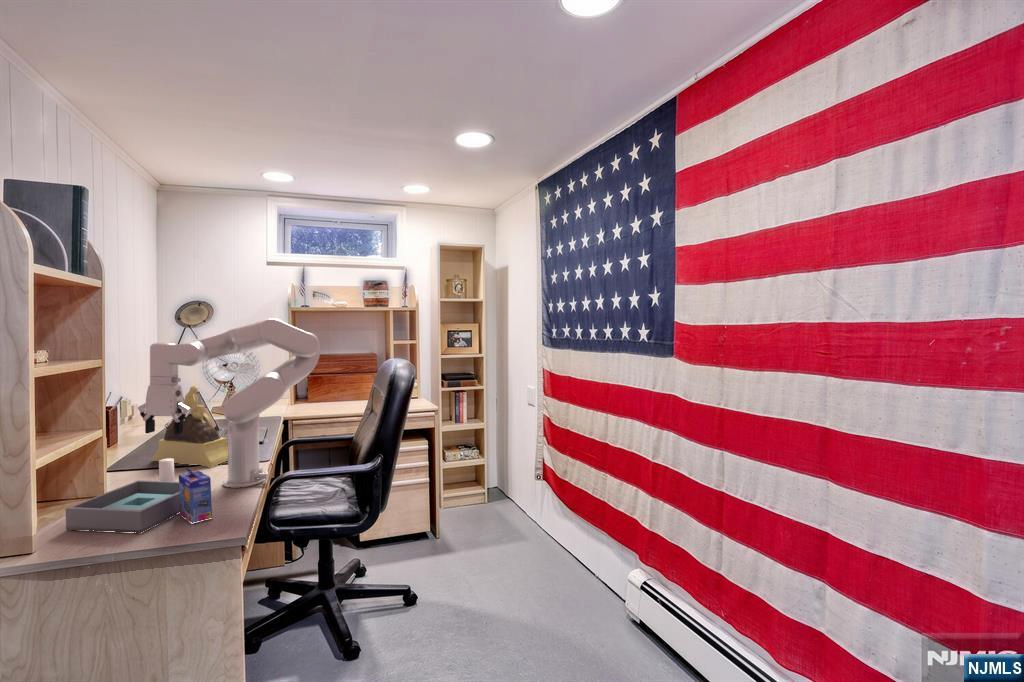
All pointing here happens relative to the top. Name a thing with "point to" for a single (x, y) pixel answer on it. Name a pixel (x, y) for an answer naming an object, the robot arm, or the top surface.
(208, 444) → the statue on rock pedestal
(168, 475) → the plug
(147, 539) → the top surface
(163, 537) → the top surface
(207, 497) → the ink cartridge box
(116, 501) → the storage box
